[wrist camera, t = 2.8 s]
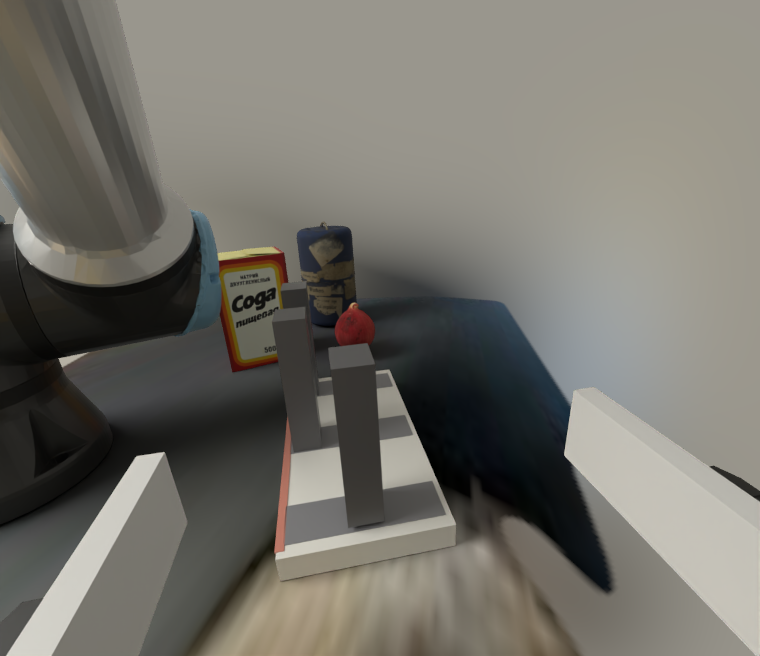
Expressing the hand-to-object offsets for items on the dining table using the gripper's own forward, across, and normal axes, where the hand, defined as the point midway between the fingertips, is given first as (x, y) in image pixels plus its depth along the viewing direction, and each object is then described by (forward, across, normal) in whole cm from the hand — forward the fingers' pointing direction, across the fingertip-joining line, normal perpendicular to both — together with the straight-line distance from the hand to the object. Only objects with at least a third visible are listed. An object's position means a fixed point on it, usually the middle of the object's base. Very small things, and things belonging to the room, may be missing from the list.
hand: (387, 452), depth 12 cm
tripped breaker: (+11, 0, -13) cm, 17 cm away
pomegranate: (+41, +3, -16) cm, 44 cm away
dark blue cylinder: (+57, 0, -15) cm, 59 cm away
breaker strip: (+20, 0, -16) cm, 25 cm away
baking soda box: (+44, -11, -15) cm, 48 cm away
